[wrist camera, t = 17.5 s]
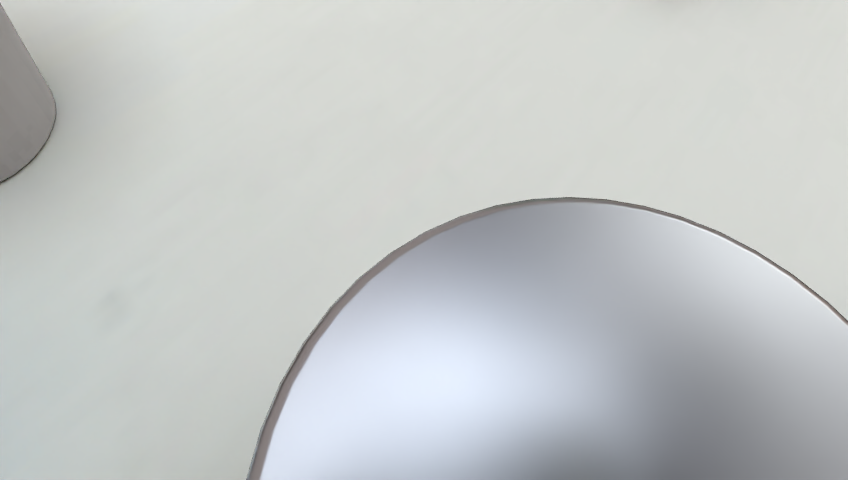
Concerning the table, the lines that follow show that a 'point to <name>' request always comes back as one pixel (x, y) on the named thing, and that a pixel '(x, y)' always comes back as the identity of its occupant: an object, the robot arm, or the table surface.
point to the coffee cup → (21, 103)
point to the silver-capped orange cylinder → (566, 358)
